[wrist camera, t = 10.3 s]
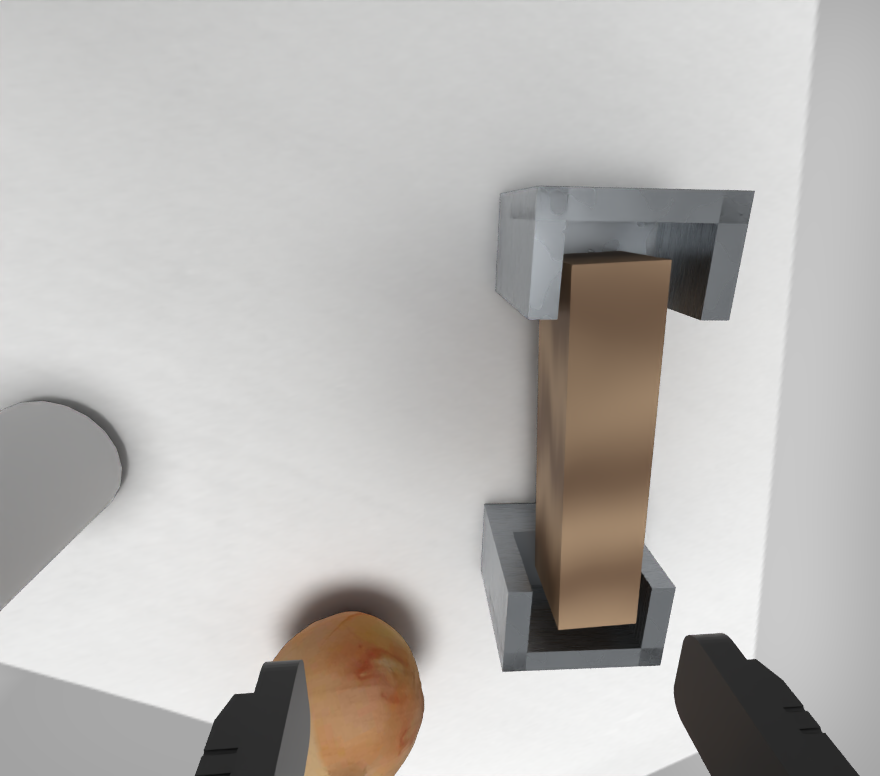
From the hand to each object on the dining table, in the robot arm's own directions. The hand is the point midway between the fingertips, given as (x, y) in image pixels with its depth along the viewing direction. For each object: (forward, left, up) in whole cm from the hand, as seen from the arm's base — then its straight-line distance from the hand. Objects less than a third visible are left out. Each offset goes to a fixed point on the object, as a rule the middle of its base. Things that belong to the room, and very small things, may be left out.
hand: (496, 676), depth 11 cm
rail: (+2, +7, -17) cm, 19 cm away
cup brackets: (+2, +7, -20) cm, 21 cm away
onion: (+19, -6, -20) cm, 28 cm away
